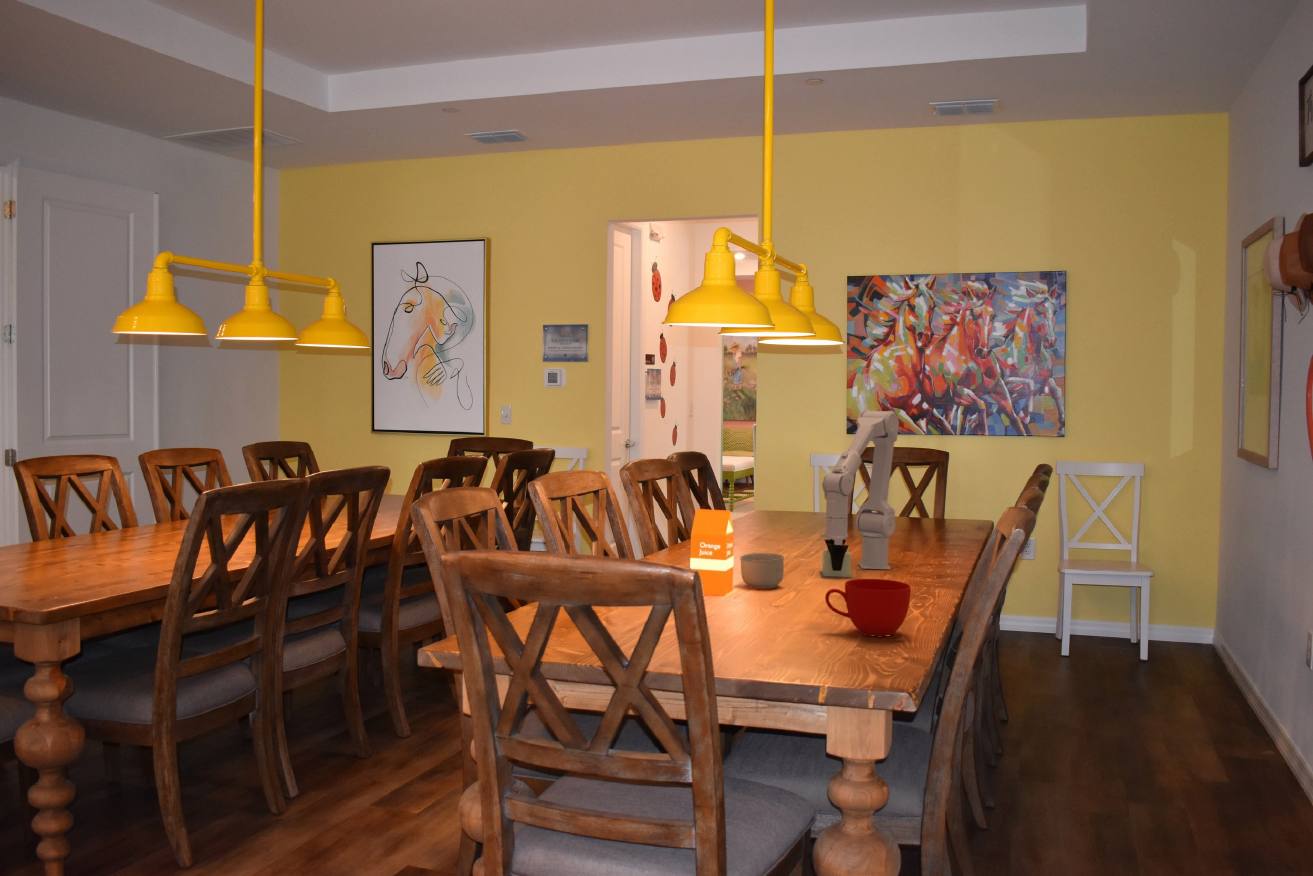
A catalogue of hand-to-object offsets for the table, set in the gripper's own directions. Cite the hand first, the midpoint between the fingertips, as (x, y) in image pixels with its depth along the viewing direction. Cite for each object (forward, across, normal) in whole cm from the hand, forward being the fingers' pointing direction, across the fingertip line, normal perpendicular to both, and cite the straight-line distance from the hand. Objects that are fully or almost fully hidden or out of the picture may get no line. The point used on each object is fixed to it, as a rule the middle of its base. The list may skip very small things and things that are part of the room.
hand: (835, 568), depth 276 cm
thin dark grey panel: (+2, 0, 0) cm, 2 cm away
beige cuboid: (+2, 0, 0) cm, 2 cm away
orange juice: (+2, +29, -32) cm, 43 cm away
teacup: (+2, +19, -20) cm, 28 cm away
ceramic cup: (+2, +68, +1) cm, 68 cm away
